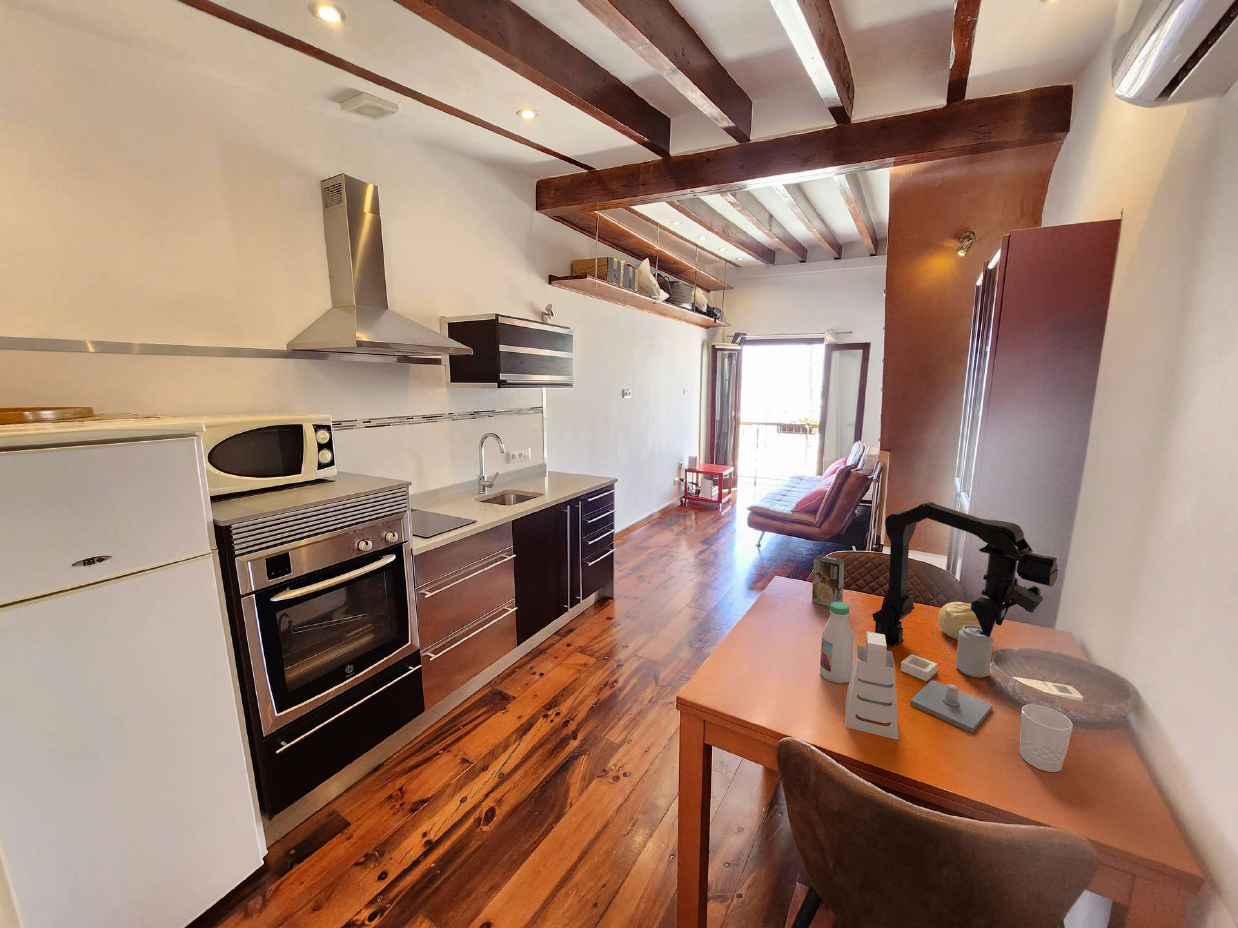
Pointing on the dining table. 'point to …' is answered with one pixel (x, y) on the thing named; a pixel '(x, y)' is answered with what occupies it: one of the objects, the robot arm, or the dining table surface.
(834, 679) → the milk bottle
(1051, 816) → the dining table surface
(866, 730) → the grater
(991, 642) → the can
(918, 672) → the white square frame
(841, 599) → the coffee box
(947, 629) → the sculpture
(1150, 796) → the dining table surface
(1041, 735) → the white cup
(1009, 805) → the dining table surface
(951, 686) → the post stand
